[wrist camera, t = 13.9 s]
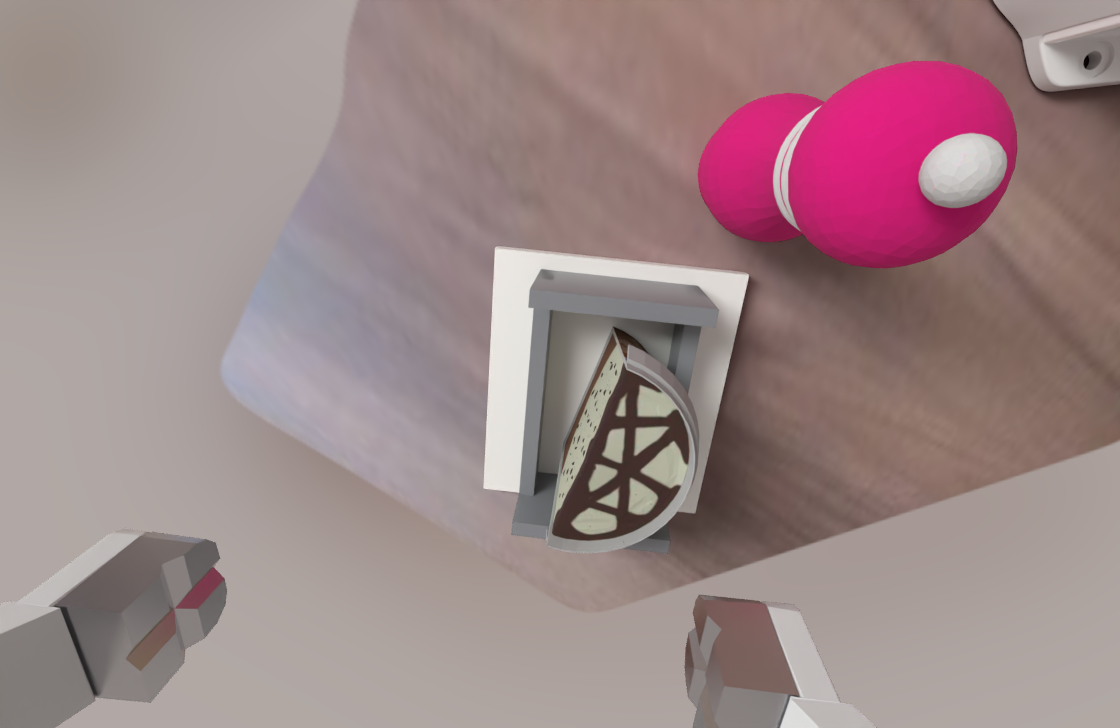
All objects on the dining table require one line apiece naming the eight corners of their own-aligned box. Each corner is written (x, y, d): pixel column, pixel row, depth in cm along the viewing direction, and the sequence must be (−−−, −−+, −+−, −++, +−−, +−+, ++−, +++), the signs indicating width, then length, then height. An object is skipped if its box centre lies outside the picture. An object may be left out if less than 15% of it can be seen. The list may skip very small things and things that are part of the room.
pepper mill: (819, 214, 32) (1144, 277, 13) (701, 246, 33) (842, 347, 14) (805, 87, 29) (1176, -62, 11) (678, 126, 30) (810, 54, 12)
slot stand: (744, 272, 33) (781, 297, 26) (692, 505, 39) (711, 572, 33) (498, 246, 33) (474, 264, 27) (486, 480, 40) (464, 541, 33)
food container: (634, 486, 38) (646, 589, 29) (556, 458, 38) (543, 554, 28) (708, 338, 34) (752, 403, 24) (621, 305, 33) (631, 358, 24)
